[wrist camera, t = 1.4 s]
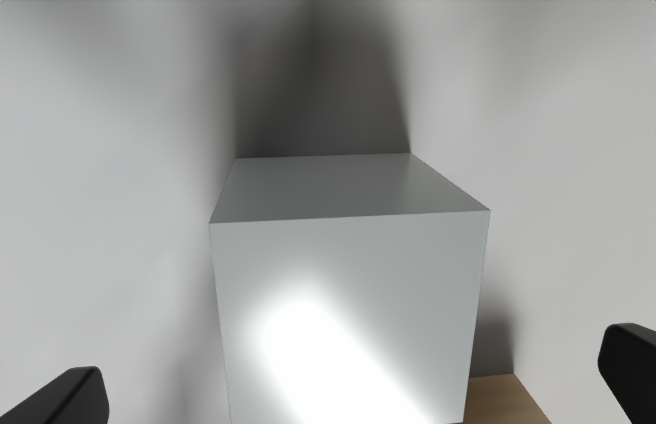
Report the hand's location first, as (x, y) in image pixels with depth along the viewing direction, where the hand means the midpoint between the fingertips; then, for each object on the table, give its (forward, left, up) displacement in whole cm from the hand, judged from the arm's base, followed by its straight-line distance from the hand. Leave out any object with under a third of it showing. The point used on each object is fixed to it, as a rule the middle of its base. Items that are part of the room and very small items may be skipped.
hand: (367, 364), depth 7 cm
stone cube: (0, 0, -6) cm, 6 cm away
